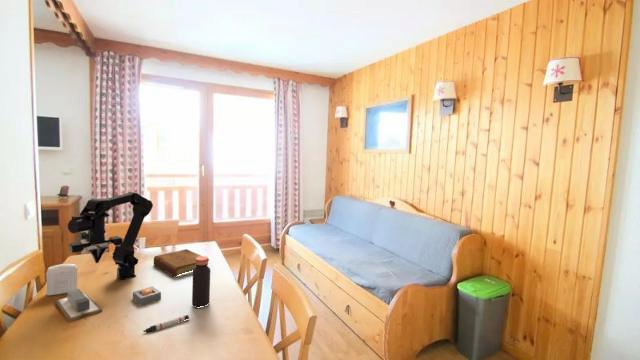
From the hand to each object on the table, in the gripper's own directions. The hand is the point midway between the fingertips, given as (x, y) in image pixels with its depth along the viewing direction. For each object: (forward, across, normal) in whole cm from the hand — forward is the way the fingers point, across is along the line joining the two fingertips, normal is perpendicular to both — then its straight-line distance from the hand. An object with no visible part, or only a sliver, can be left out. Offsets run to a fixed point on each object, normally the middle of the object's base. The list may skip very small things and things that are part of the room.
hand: (96, 262), depth 137 cm
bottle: (+12, -24, +44) cm, 52 cm away
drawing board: (+12, +10, +13) cm, 20 cm away
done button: (+11, -11, +24) cm, 29 cm away
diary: (+13, -39, -1) cm, 41 cm away
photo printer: (+12, +11, -6) cm, 17 cm away
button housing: (+12, -11, +24) cm, 29 cm away
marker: (+12, -7, +50) cm, 52 cm away
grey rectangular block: (+11, +10, +13) cm, 20 cm away
